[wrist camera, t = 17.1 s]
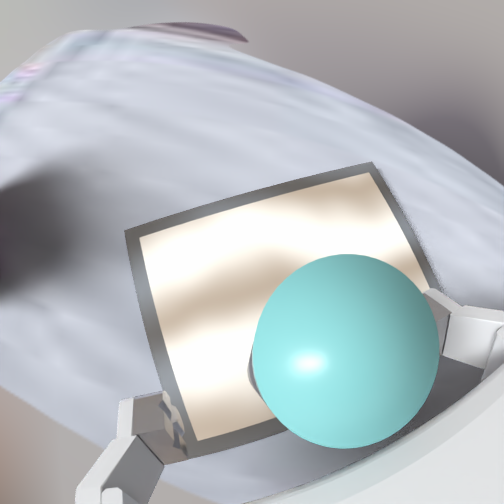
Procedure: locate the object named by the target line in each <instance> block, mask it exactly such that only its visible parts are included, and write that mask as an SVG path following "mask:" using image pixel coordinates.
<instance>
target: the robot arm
mask: <svg viewBox="0 0 504 504" xmlns="http://www.w3.org/2000/svg"><path fill="white" fill-rule="evenodd" d="M422 294H423V296H424V297H425V299H426V300H427V302H428V304H429V306H430V308H431V310H432V313H433V316H434V319H435V322H436V326H437V330H438V336H439V356H441V355H442V354H443V355H442V356H445V357H448V358H451V359H454V360H457V361H460V362H463V363H466V364H469V365H472V366H475V367H478V368H481V369H484V372H483V375H482V378H481V383H480V384H479V385H477V386H476V387H475V388H474V389H472V390H471V391H470V392H469V393H467V394H466V395H465V396H463V397H462V398H461V399H459V400H458V401H457V402H455V403H454V404H452V405H451V406H450V407H448V408H447V409H445V410H444V411H443V412H441V413H440V414H438V415H437V416H435V417H434V418H432V419H431V420H429V421H428V422H426V423H425V424H423V425H422V426H420V427H418V428H417V429H415V430H414V431H412V432H410V433H409V434H407V435H405V436H404V437H402V438H400V439H398V440H397V441H395V442H393V443H391V444H390V445H388V446H386V447H384V448H382V449H380V450H379V451H377V452H375V453H373V454H371V455H369V456H367V457H365V458H363V459H361V460H359V461H357V462H355V463H353V464H350V465H348V466H346V467H344V468H342V469H340V470H337V471H335V472H333V473H330V474H328V475H326V476H323V477H321V478H318V479H316V480H313V481H311V482H308V483H306V484H303V485H300V486H297V487H295V488H292V489H289V490H286V491H283V492H280V493H277V494H274V495H271V496H268V497H264V498H261V499H258V500H254V501H251V502H247V503H243V504H504V311H501V310H494V309H487V308H481V307H474V306H467V305H464V306H463V307H462V306H461V305H459V304H458V303H456V302H455V301H453V300H452V299H450V298H449V297H447V296H446V295H444V294H443V293H441V292H440V291H438V290H437V289H435V288H430V289H429V290H427V291H425V292H423V293H422ZM184 433H185V431H184V425H183V422H182V419H181V416H180V414H179V412H178V410H177V408H176V407H175V406H173V405H171V402H170V397H169V395H168V394H167V392H166V391H164V390H163V391H159V392H154V393H150V394H145V395H140V396H135V397H132V398H127V399H121V401H120V403H119V412H118V425H117V439H113V440H112V441H111V442H110V444H109V445H108V446H107V448H106V449H105V450H104V452H103V453H102V454H101V456H100V457H99V458H98V460H97V461H96V463H95V464H94V466H93V467H92V468H91V469H90V471H89V472H88V473H87V475H86V476H85V477H84V479H83V480H82V482H81V483H80V484H79V486H78V487H77V488H76V496H75V504H148V502H149V499H150V497H151V495H152V493H153V491H154V488H155V486H156V484H157V482H158V480H159V478H160V475H161V473H162V471H163V469H164V465H168V464H172V463H177V462H181V461H185V460H189V459H188V452H187V445H186V442H185V441H184V440H183V438H182V436H183V435H184Z"/></svg>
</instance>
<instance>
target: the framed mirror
mask: <svg viewBox="0 0 504 504" xmlns="http://www.w3.org/2000/svg"><path fill="white" fill-rule="evenodd" d="M124 232H125V238H126V244H127V249H128V254H129V260H130V265H131V270H132V275H133V280H134V284H135V289H136V293H137V298H138V302H139V306H140V311H141V315H142V319H143V323H144V327H145V331H146V334H147V338H148V342H149V345H150V349H151V353H152V356H153V360H154V363H155V367H156V370H157V373H158V376H159V380H160V383H161V386H162V389H163V390H164V391H166V392H167V394H168V395H169V397H170V402H171V405H173V406H175V407H176V408H177V410H178V412H179V414H180V416H181V419H182V422H183V425H184V431H185V433H184V435H183V436H182V438H183V440H184V441H185V442H186V445H187V452H188V459H191V458H196V457H200V456H204V455H208V454H212V453H216V452H220V451H223V450H227V449H230V448H234V447H237V446H241V445H244V444H247V443H251V442H254V441H257V440H260V439H263V438H266V437H269V436H272V435H275V434H278V433H280V432H283V431H286V430H289V429H288V428H287V427H286V426H285V425H283V424H282V423H281V422H280V421H279V419H278V418H277V417H276V416H275V415H274V414H273V413H272V411H271V410H270V409H269V407H268V406H267V405H266V404H265V402H264V401H263V400H262V399H261V397H260V396H259V395H258V393H257V392H256V391H255V389H254V388H253V387H252V385H251V383H250V381H249V378H248V373H247V368H248V362H249V358H250V354H251V349H252V345H253V341H254V336H255V332H256V329H257V325H258V321H259V318H260V316H261V314H262V311H263V309H264V307H265V305H266V303H267V302H268V300H269V298H270V296H271V295H272V294H273V292H274V291H275V290H276V288H277V287H278V286H279V285H280V284H281V283H282V282H283V281H284V280H285V279H286V278H287V277H288V276H289V275H291V274H292V273H293V272H295V271H296V270H297V269H299V268H301V267H302V266H304V265H306V264H307V263H310V262H312V261H315V260H317V259H320V258H323V257H327V256H331V255H338V254H357V255H365V256H369V257H373V258H376V259H379V260H381V261H384V262H386V263H388V264H390V265H391V266H393V267H395V268H397V269H398V270H399V271H401V272H402V273H403V274H405V275H406V276H407V277H408V278H409V279H410V280H411V281H412V282H413V283H414V284H415V285H416V286H417V287H418V289H419V290H420V291H421V293H423V292H425V291H427V290H429V289H430V288H435V289H437V290H438V291H440V292H441V293H442V291H441V289H440V287H439V285H438V282H437V280H436V278H435V276H434V274H433V271H432V269H431V267H430V265H429V263H428V261H427V259H426V257H425V255H424V253H423V251H422V249H421V247H420V245H419V243H418V241H417V239H416V237H415V235H414V233H413V231H412V229H411V227H410V225H409V224H408V222H407V220H406V218H405V216H404V214H403V213H402V211H401V209H400V207H399V205H398V204H397V202H396V200H395V198H394V197H393V195H392V193H391V192H390V190H389V188H388V187H387V185H386V183H385V182H384V180H383V178H382V177H381V175H380V173H379V172H378V170H377V169H376V167H375V166H374V164H373V162H368V163H363V164H359V165H355V166H350V167H346V168H341V169H337V170H333V171H329V172H325V173H320V174H316V175H312V176H308V177H304V178H300V179H296V180H293V181H289V182H285V183H281V184H277V185H273V186H270V187H266V188H262V189H259V190H255V191H251V192H248V193H244V194H241V195H237V196H234V197H230V198H227V199H223V200H220V201H216V202H213V203H209V204H206V205H203V206H199V207H196V208H193V209H190V210H186V211H183V212H180V213H177V214H174V215H170V216H167V217H164V218H161V219H158V220H155V221H152V222H149V223H146V224H143V225H140V226H137V227H134V228H131V229H128V230H125V231H124Z"/></svg>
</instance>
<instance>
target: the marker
mask: <svg viewBox="0 0 504 504" xmlns="http://www.w3.org/2000/svg"><path fill="white" fill-rule="evenodd" d="M438 362H439V336H438V330H437V326H436V322H435V319H434V316H433V313H432V310H431V308H430V306H429V304H428V302H427V300H426V299H425V297H424V296H423V294H422V293H421V291H420V290H419V289H418V287H417V286H416V285H415V284H414V283H413V282H412V281H411V280H410V279H409V278H408V277H407V276H406V275H405V274H403V273H402V272H401V271H399V270H398V269H397V268H395V267H393V266H391V265H390V264H388V263H386V262H384V261H381V260H379V259H376V258H373V257H369V256H365V255H357V254H338V255H331V256H327V257H323V258H320V259H317V260H315V261H312V262H310V263H307V264H306V265H304V266H302V267H301V268H299V269H297V270H296V271H295V272H293V273H292V274H291V275H289V276H288V277H287V278H286V279H285V280H284V281H283V282H282V283H281V284H280V285H279V286H278V287H277V288H276V290H275V291H274V292H273V294H272V295H271V296H270V298H269V300H268V302H267V303H266V305H265V307H264V309H263V311H262V314H261V316H260V318H259V321H258V325H257V329H256V332H255V336H254V341H253V345H252V349H251V354H250V358H249V362H248V368H247V373H248V378H249V381H250V383H251V385H252V387H253V388H254V389H255V391H256V392H257V393H258V395H259V396H260V397H261V399H262V400H263V401H264V402H265V404H266V405H267V406H268V407H269V409H270V410H271V411H272V413H273V414H274V415H275V416H276V417H277V418H278V419H279V421H280V422H281V423H282V424H283V425H285V426H286V427H287V428H288V429H289V430H290V431H292V432H293V433H295V434H296V435H298V436H300V437H301V438H303V439H305V440H307V441H310V442H312V443H314V444H318V445H321V446H325V447H331V448H339V449H344V448H357V447H363V446H367V445H370V444H374V443H377V442H379V441H381V440H383V439H385V438H388V437H389V436H391V435H393V434H394V433H396V432H397V431H399V430H400V429H401V428H402V427H404V426H405V425H406V424H407V423H408V422H409V421H410V420H411V419H412V418H413V417H414V416H415V415H416V414H417V412H418V411H419V410H420V408H421V407H422V405H423V404H424V402H425V401H426V399H427V397H428V395H429V393H430V391H431V388H432V386H433V383H434V381H435V377H436V373H437V369H438Z"/></svg>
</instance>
